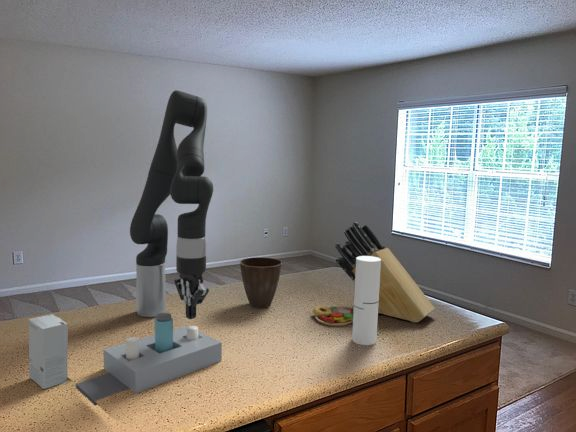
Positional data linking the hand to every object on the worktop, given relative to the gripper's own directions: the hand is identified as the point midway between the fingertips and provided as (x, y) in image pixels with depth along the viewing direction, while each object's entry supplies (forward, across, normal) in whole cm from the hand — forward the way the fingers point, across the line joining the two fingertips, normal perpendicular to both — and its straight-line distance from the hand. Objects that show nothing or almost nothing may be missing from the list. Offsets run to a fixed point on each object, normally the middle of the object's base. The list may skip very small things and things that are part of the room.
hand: (190, 317), depth 123 cm
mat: (+11, -1, +23) cm, 26 cm away
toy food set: (+12, -7, -52) cm, 54 cm away
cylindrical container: (+11, -24, -45) cm, 52 cm away
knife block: (+11, -12, -72) cm, 74 cm away
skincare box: (+12, +12, +31) cm, 36 cm away
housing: (+11, 0, +8) cm, 14 cm away
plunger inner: (+10, 0, 0) cm, 10 cm away
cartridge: (+10, 0, +8) cm, 13 cm away
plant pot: (+12, +20, -43) cm, 49 cm away
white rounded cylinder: (+8, 0, +17) cm, 19 cm away
